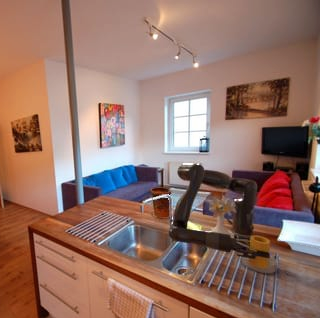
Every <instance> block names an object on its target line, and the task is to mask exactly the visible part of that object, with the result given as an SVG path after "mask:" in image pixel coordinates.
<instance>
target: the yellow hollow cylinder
mask: <svg viewBox="0 0 320 318" xmlns="http://www.w3.org/2000/svg"><path fill="white" fill-rule="evenodd" d="M249 238H250V248H252V249H255V250H259V251H264V252H269V254H270V253H271V251H270V250H271V240H270V239H268V238H267V237H265V236H262V235H253V236H251V237H249ZM250 251H251V250H250ZM270 255H271V254H270ZM250 256H252V255H250ZM249 262H250V263H251V264H252V265H253V266H255V267H258V268H263V269H266V268H268V266H269V258H264V257H259V256H257V257H256V259H252V258H249Z"/></svg>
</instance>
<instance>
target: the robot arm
mask: <svg viewBox="0 0 320 318" xmlns="http://www.w3.org/2000/svg"><path fill="white" fill-rule="evenodd" d="M176 173H177V176H178V178H179V179H180V180H181V181H185V182H188V183H189V184H188V186H187V188H186V190H185V192H183V194H182V195H181V196H180V197H179V199H178V200H177V202H176V204H175V208H174V212H173V221H172V225H171V227H170V228H169V230H168V236H169V238H170V239H171V240H172V241H175V242H177V243H183V244H191V245H195V246H199V247H204V248H207V249H211V250H215V251H220V252H225V253H231V252H232V251H234V252H236V256H237V257H240V258H242V257H246V258H252V259H256V257H257V256H259V257H264V258H270V255H271V254H269V252H264V251H259V250H255V249H252V248H250V237H251V236H254V230H255V229H254V228H255V226H254V217H255V204H256V201H257V195H258V194H257V193H258V183H257V182H256V181H254V180H251V179H246V178H242V177H241V178H240V177H232V176H230V175H228V174H227V173H225V172H221V171H219V170H213V169H205V168H204V166H203V165H202V164H200V163H183V164H181V165H179V166H178V168H177V170H176ZM201 185H204V186H208V187H210V188H214V189H218V190H229V191H230V192H233V193H235V194H238V195H242V196H243V198H236V199H234V203H235V204H236V206H235V207H234V208H235V209H236V212H235V213H234V212H233V215H232V221H231V220H230V219H229V217H228V216H227V215H224V218H226V220H227V222H229V223H230V224H231V226H232V228H231V229H232V233H233V234H234V235H233V237H232V236H230V235H231V234H230V235H229V234H223V233H217V232H211V230H210V231H209V230H208V231H207V230H202V229H195V228H194V229H193V228H188V223H189V221H190V217H191V213H192V209H193V205H194V202H195V199H196V197H197V195H198V194H199V190H200V188H201ZM234 203H233V204H234ZM250 250H251V251H250ZM250 255H252V256H250Z"/></svg>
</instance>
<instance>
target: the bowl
mask: <svg viewBox="0 0 320 318" xmlns="http://www.w3.org/2000/svg"><path fill="white" fill-rule="evenodd" d="M241 262H242V263H243V264H244V266H246V267H247V268H248V269H251V270H253V271H254V272H257V273H258V272H259V273H262V274H273V273H275V272H276V271H277V268H278V261H277V259H276V258H275V257H274V256H273V255H271V254H270V258H269V266H268V268H266V269H263V268H258V267H255V266H253V265H252V264H251V263H250V262H249V258H246V257H241Z"/></svg>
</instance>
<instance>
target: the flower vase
mask: <svg viewBox="0 0 320 318" xmlns="http://www.w3.org/2000/svg"><path fill="white" fill-rule="evenodd" d="M221 196H222V198H221V200H220V199H219V198H218V196H213V197H212V199H211V200H210V201H209V202H208V207H209V208H208V209H209V212H210V213H213V215H212V217H213V218H214V219H215V218H217V220H216V225H215V227H213V228H211V230H210V231H211V232H217V233H223V234H229V235H230V236H231V233H230V232H229V230H228V229H227V228H226V226H225V218H226V217H224V216H225V215H226V214H227V215H228V216H232V212H233V214H234V213H235V212H236V209H235V208H234V207H235V206H236V204H235V203H234V201H235V199H232V198H231V197H227V198H226V196H225V195H224V194H222V195H221ZM231 237H232V236H231Z"/></svg>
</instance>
